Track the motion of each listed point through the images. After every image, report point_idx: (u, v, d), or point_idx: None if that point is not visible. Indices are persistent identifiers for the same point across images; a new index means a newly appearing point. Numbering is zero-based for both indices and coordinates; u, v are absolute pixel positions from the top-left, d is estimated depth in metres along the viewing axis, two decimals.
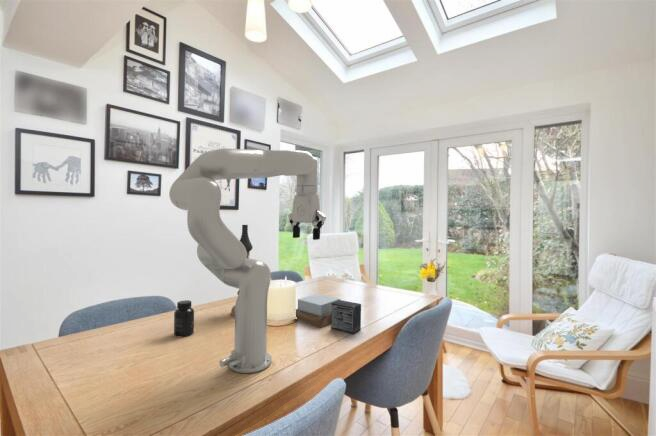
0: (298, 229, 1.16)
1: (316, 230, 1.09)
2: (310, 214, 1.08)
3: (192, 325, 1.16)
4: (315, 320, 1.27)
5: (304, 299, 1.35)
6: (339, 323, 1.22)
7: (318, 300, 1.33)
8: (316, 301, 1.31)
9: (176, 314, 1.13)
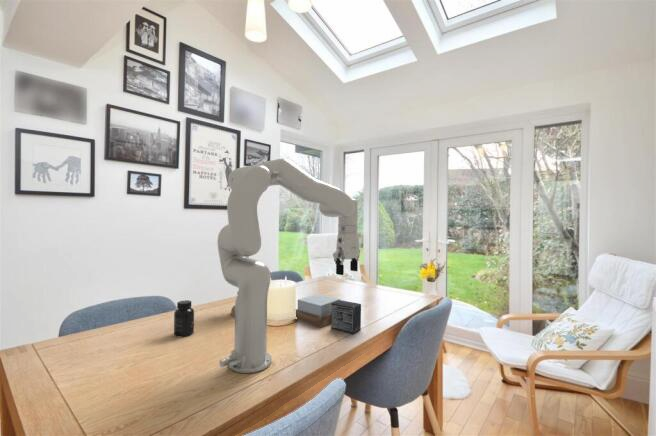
0: None
1: None
2: (358, 250, 1.25)
3: (192, 325, 1.16)
4: (315, 320, 1.27)
5: (303, 299, 1.35)
6: (339, 323, 1.22)
7: (318, 300, 1.33)
8: (316, 302, 1.31)
9: (176, 314, 1.13)
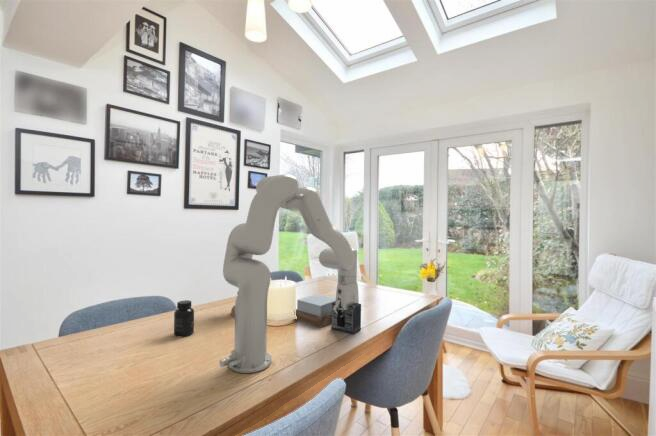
0: None
1: None
2: (357, 298, 1.25)
3: (192, 325, 1.16)
4: (315, 320, 1.27)
5: (303, 299, 1.35)
6: None
7: (318, 300, 1.33)
8: (316, 302, 1.31)
9: (176, 314, 1.13)
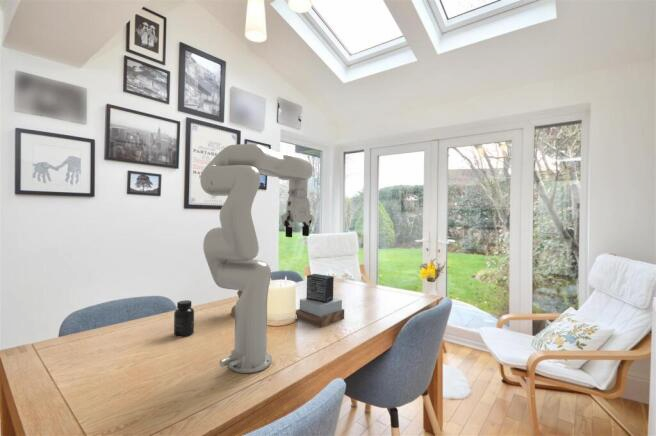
0: None
1: None
2: (309, 214, 1.28)
3: (192, 325, 1.16)
4: (316, 320, 1.27)
5: (306, 299, 1.36)
6: (313, 294, 1.34)
7: None
8: (317, 302, 1.32)
9: (176, 314, 1.13)
